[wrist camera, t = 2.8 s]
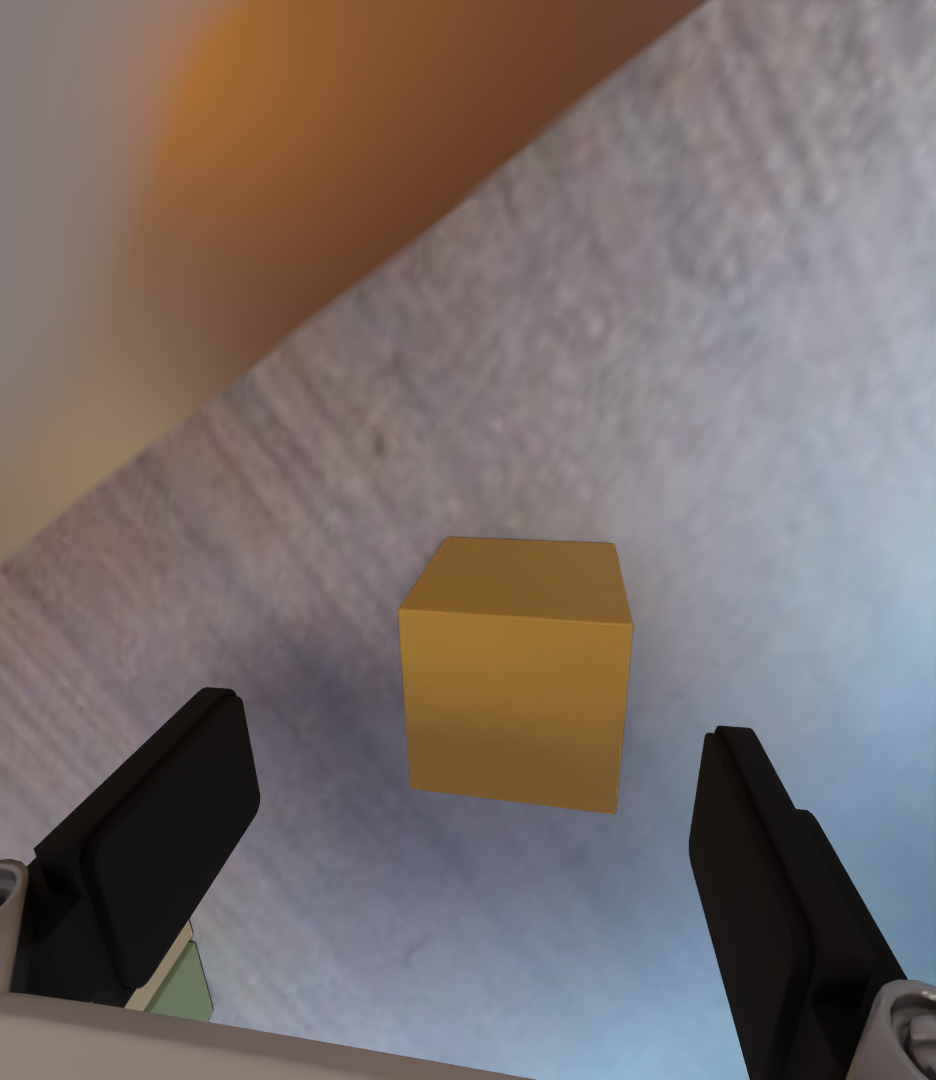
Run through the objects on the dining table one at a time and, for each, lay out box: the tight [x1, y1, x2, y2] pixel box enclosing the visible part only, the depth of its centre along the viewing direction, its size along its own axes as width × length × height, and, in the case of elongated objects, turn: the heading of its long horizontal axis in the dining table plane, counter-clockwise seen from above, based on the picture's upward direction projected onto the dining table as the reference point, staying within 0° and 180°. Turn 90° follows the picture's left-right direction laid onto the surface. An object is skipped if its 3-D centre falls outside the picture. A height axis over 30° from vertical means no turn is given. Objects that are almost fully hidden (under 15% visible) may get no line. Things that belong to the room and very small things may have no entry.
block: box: [144, 942, 213, 1022], centre depth 24 cm, size 5×5×5 cm
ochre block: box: [398, 537, 633, 814], centre depth 14 cm, size 5×5×5 cm
